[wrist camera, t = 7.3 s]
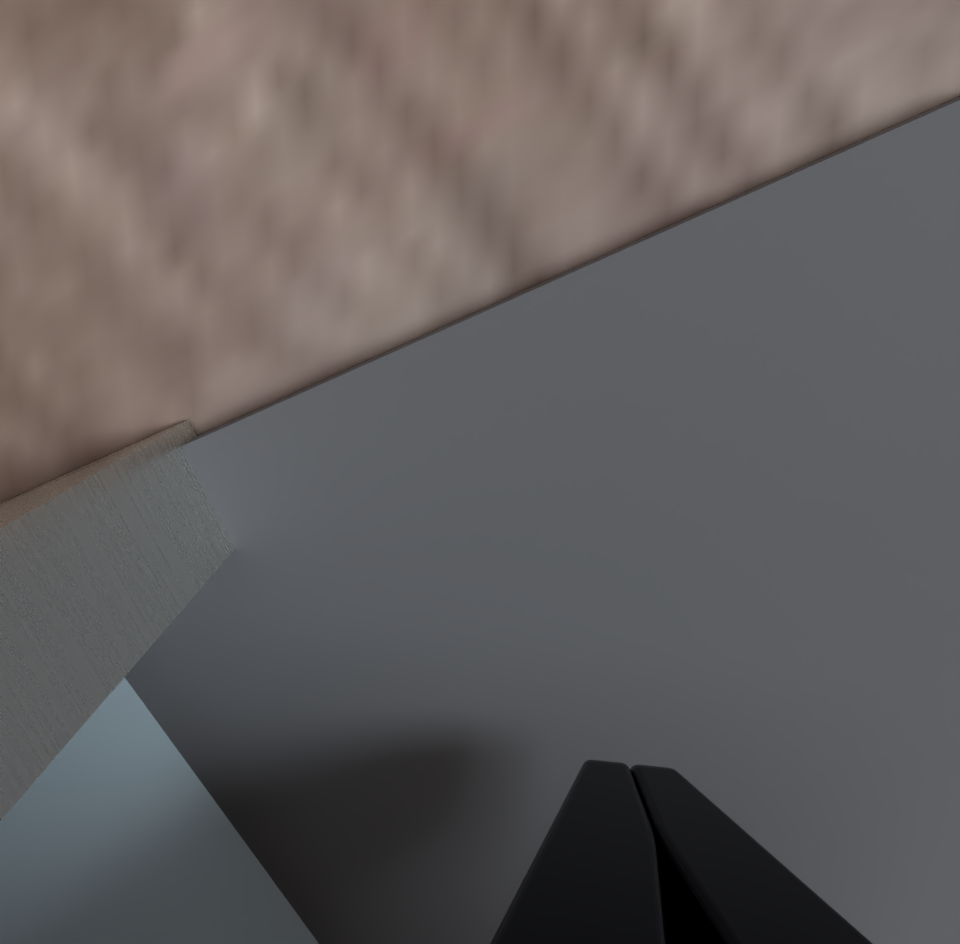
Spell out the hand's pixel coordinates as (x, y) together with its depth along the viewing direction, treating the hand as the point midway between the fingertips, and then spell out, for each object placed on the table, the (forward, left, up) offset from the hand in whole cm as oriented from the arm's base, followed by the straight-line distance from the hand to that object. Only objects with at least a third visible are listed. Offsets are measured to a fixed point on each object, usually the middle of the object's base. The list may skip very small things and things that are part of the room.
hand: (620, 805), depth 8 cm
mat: (-2, 0, -2) cm, 3 cm away
